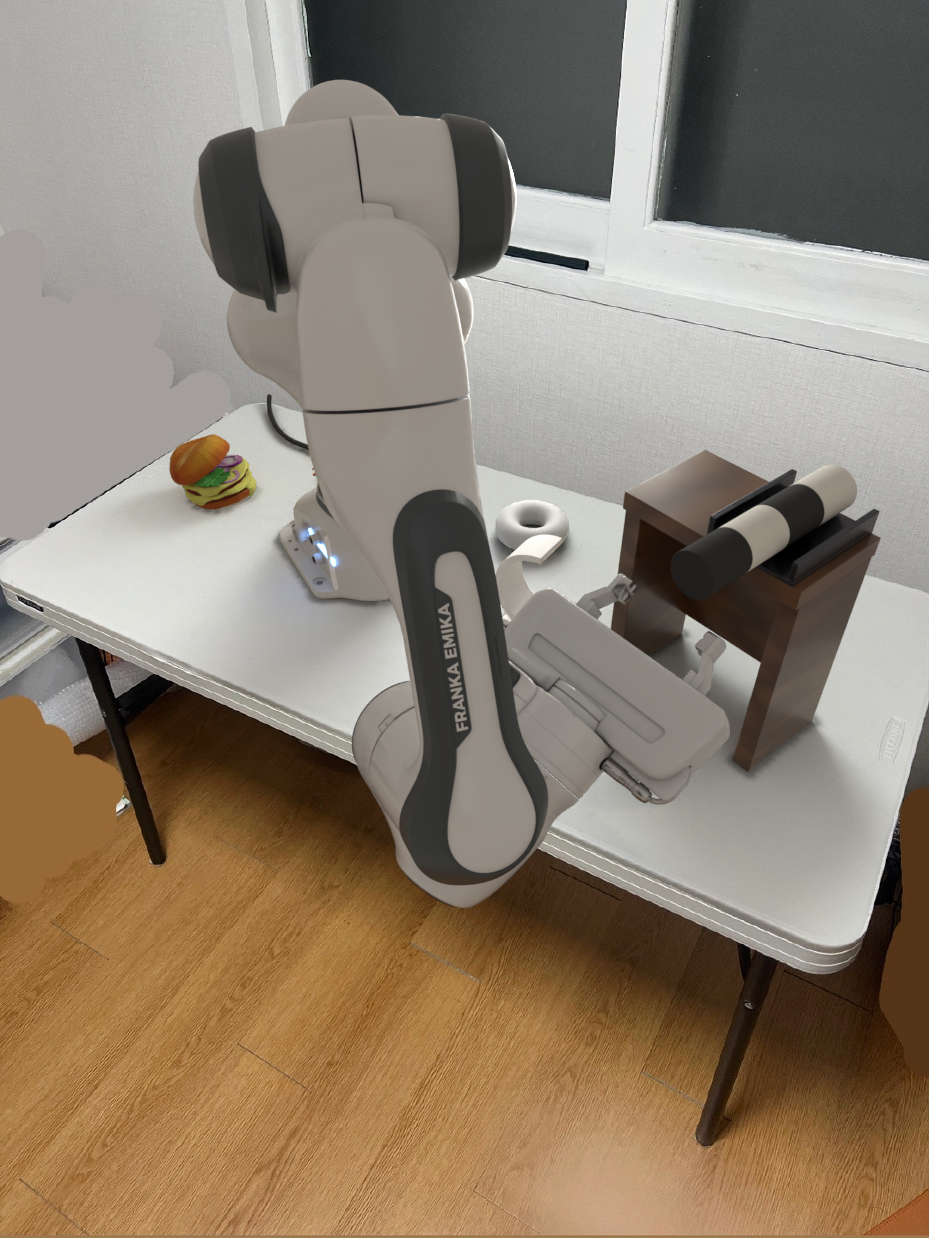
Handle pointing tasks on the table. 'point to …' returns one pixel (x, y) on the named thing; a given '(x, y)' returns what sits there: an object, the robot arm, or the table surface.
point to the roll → (762, 531)
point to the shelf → (736, 598)
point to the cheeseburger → (211, 473)
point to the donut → (530, 522)
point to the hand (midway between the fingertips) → (672, 608)
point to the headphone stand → (511, 574)
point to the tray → (809, 548)
